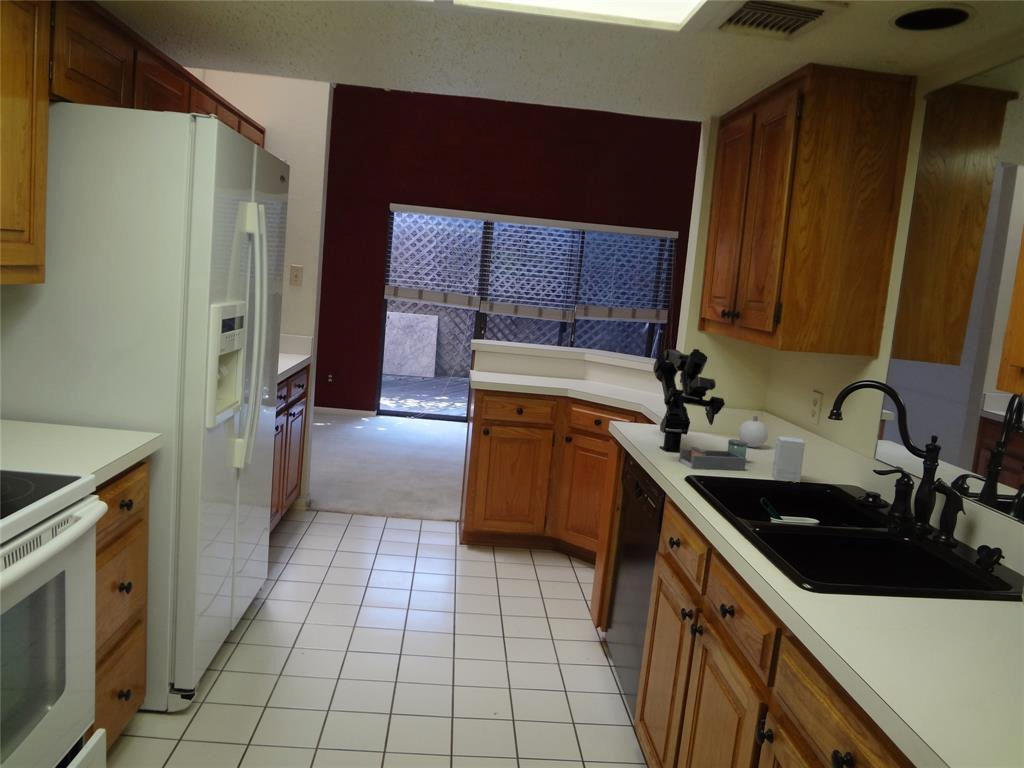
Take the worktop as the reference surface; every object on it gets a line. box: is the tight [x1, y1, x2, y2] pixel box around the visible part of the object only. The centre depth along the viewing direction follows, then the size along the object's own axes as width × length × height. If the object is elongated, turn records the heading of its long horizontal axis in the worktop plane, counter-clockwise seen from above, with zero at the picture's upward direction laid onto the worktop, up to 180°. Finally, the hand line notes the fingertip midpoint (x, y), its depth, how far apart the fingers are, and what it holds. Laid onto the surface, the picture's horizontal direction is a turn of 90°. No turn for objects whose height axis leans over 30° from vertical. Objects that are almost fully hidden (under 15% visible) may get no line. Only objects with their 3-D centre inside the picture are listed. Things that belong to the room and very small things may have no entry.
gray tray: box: [678, 448, 747, 471], centre depth 245 cm, size 10×18×4 cm, turn 103°
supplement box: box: [771, 435, 806, 483], centre depth 235 cm, size 7×7×13 cm
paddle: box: [689, 446, 707, 464], centre depth 244 cm, size 7×2×5 cm, turn 13°
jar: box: [727, 438, 748, 458], centre depth 255 cm, size 6×6×7 cm
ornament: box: [738, 415, 769, 448], centre depth 285 cm, size 10×10×12 cm
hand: (698, 421), depth 239 cm, fingers open, 9 cm apart
